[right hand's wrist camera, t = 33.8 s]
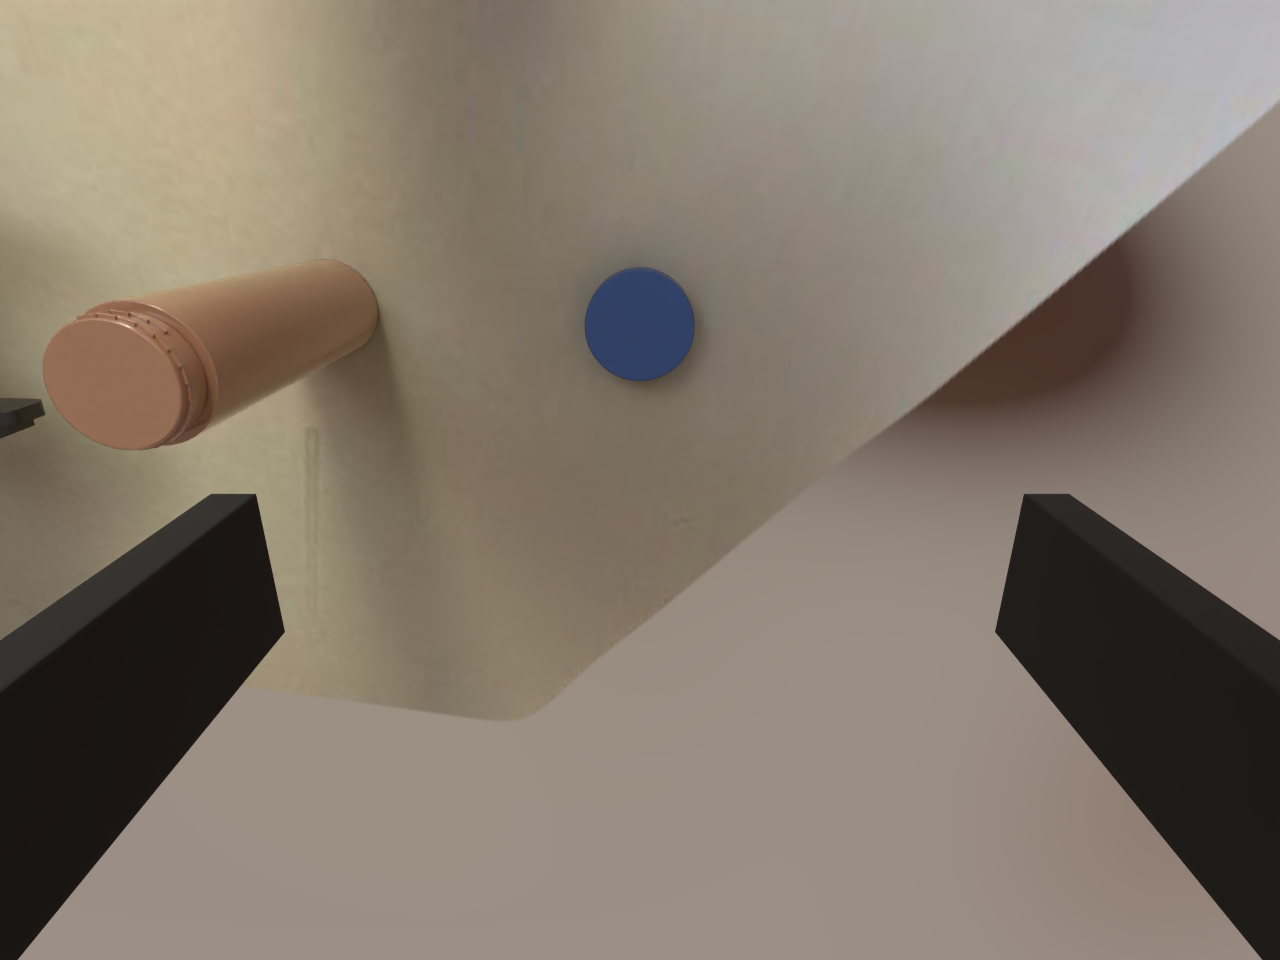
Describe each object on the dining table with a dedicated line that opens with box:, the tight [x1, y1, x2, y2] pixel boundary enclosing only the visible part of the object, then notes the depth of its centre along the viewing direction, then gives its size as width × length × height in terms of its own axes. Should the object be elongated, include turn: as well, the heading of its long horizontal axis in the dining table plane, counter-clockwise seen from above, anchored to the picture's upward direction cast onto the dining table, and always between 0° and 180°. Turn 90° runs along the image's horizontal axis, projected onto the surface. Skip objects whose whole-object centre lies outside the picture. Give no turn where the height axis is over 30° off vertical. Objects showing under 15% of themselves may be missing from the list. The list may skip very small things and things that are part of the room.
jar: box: [43, 260, 378, 450], centre depth 31 cm, size 5×5×17 cm
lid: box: [585, 267, 694, 381], centre depth 38 cm, size 6×6×2 cm
